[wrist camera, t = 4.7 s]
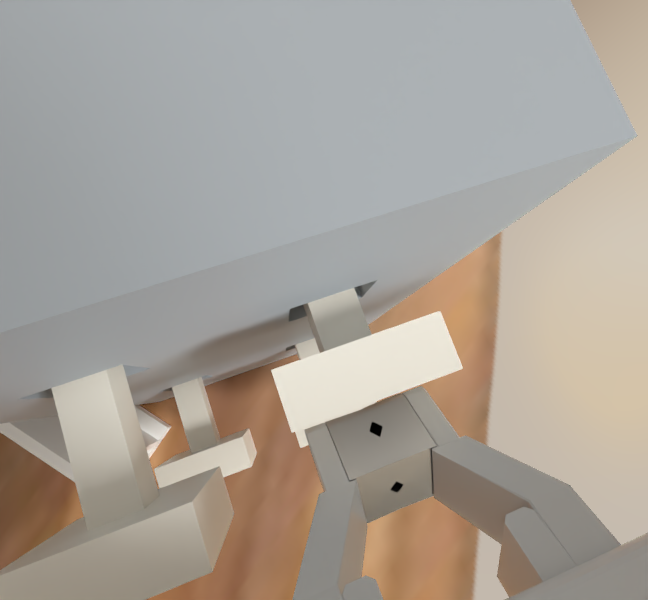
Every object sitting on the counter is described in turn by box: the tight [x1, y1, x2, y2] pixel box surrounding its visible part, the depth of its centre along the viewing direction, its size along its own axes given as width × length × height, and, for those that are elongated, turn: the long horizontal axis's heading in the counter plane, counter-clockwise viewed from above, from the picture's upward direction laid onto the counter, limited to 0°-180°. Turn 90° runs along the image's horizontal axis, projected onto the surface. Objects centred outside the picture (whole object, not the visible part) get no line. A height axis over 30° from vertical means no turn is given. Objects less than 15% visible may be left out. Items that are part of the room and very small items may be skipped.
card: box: [0, 405, 171, 482], centre depth 20 cm, size 8×2×10 cm, turn 57°
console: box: [0, 0, 637, 424], centre depth 16 cm, size 12×8×22 cm, turn 110°
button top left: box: [0, 365, 234, 600], centre depth 9 cm, size 4×6×4 cm, turn 20°
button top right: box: [271, 288, 463, 432], centre depth 11 cm, size 4×6×4 cm, turn 20°
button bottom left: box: [154, 377, 257, 488], centre depth 19 cm, size 4×6×4 cm, turn 19°
